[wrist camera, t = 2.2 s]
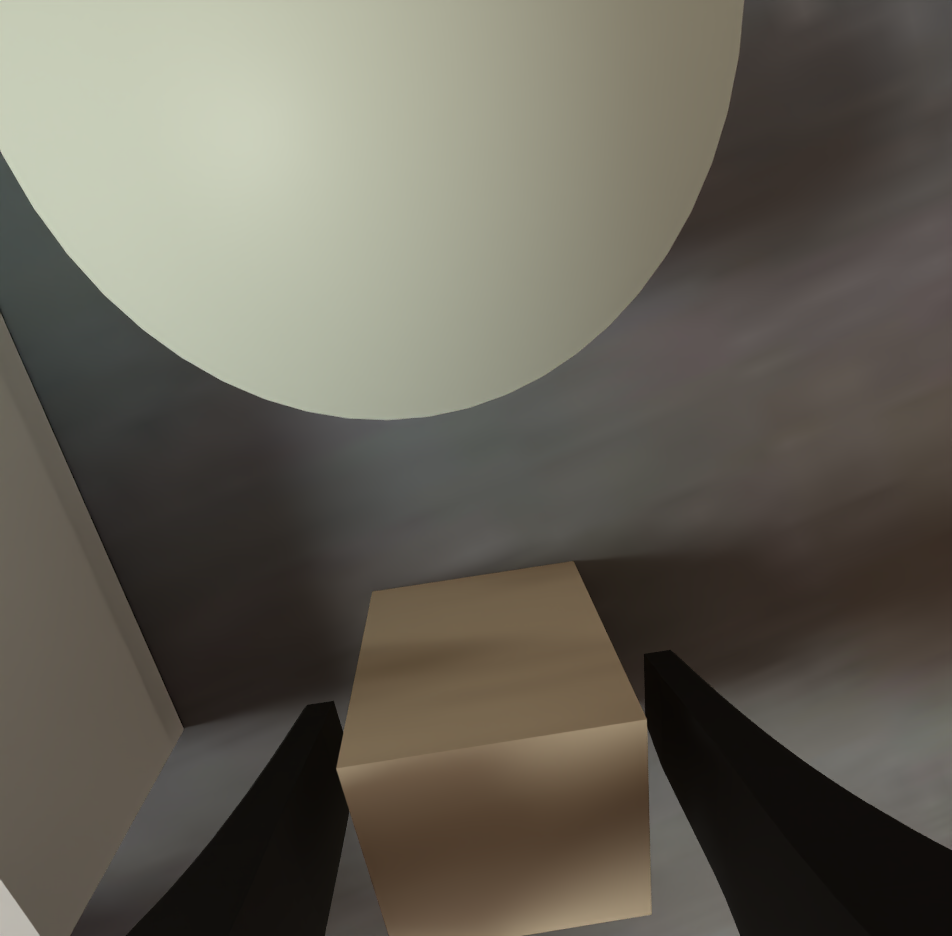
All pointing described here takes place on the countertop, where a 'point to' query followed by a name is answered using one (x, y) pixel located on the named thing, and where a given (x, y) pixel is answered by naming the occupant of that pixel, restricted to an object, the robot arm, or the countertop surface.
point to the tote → (63, 682)
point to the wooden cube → (497, 759)
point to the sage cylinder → (367, 178)
